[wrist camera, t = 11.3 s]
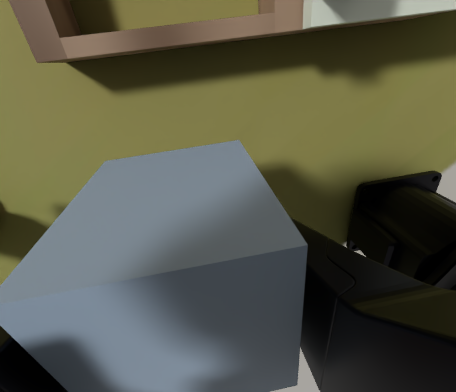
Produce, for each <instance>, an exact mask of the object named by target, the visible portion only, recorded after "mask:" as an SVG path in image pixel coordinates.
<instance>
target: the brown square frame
mask: <svg viewBox="0 0 456 392" xmlns="http://www.w3.org/2000/svg"><path fill="white" fill-rule="evenodd" d="M9 2H10V4H11V7H12V9H13V11H14V13H15V15H16V18H17V20H18V22H19V24H20V26H21V29H22V31H23V33H24V35H25V37H26V40H27V42H28V44H29V46H30V48H31V51H32V53H33V55H34V57H35V59H36V62H37V63H66V62H74V61H82V60H90V59H98V58H105V57H113V56H121V55H129V54H137V53H145V52H153V51H161V50H169V49H177V48H185V47H193V46H201V45H209V44H217V43H225V42H233V41H241V40H249V39H257V38H265V37H273V36H281V35H289V34H297V33H305V32H313V31H321V30H329V29H337V28H345V27H353V26H361V25H369V24H377V23H385V22H393V21H401V20H408V19H413V18H418V17H423V16H429V15H434V14H439V13H444V12H439V13H431V14H423V15H414V16H406V17H398V18H390V19H382V20H374V21H366V22H358V23H350V24H342V25H334V26H326V27H318V28H310V29H303V5H304V0H258V5H259V15H250V16H242V17H233V18H225V19H216V20H208V21H199V22H191V23H182V24H174V25H165V26H157V27H149V28H140V29H132V30H123V31H115V32H106V33H98V34H89V35H81V32H80V29H79V26H78V24H77V21H76V18H75V15H74V12H73V9H72V7H71V4H70V1H69V0H9ZM447 12H449V11H447Z"/></svg>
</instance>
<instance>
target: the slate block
mask: <svg viewBox="0 0 456 392" xmlns="http://www.w3.org/2000/svg"><path fill="white" fill-rule="evenodd" d="M307 249H308V245H307V243H306V242H305V240H304V238H303V237H302V235H301V234H300V232H299V231H298V229H297V228H296V226H295V225H294V223H293V222H292V220H291V219H290V217H289V216H288V214H287V213H286V211H285V209H284V208H283V206H282V205H281V203H280V202H279V200H278V199H277V197H276V196H275V194H274V193H273V191H272V190H271V188H270V187H269V185H268V184H267V182H266V180H265V179H264V177H263V176H262V174H261V173H260V171H259V170H258V168H257V167H256V165H255V164H254V162H253V161H252V159H251V158H250V156H249V155H248V153H247V151H246V150H245V148H244V147H243V145H242V144H241V142H240V141H239V140H236V141H230V142H224V143H217V144H211V145H205V146H198V147H192V148H185V149H179V150H173V151H166V152H160V153H154V154H147V155H141V156H135V157H128V158H122V159H115V160H109V161H105V162H104V163H103V164H102V165H101V167H100V168H99V169H98V170H97V171H96V173H95V174H94V175H93V176H92V177H91V179H90V180H89V181H88V182H87V183H86V185H85V186H84V187H83V188H82V189H81V190H80V192H79V193H78V194H77V195H76V196H75V198H74V199H73V200H72V201H71V202H70V204H69V205H68V206H67V207H66V208H65V209H64V211H63V212H62V213H61V214H60V215H59V217H58V218H57V219H56V220H55V221H54V223H53V224H52V225H51V226H50V227H49V229H48V230H47V231H46V232H45V233H44V234H43V236H42V237H41V238H40V239H39V240H38V242H37V243H36V244H35V245H34V246H33V248H32V249H31V250H30V251H29V252H28V254H27V255H26V256H25V257H24V258H23V259H22V261H21V262H20V263H19V264H18V265H17V267H16V268H15V269H14V270H13V271H12V273H11V274H10V275H9V276H8V277H7V279H6V280H5V281H4V282H3V283H2V284H1V286H0V326H1V327H2V328H3V329H4V330H5V331H6V332H7V333H8V334H10V335H11V336H12V337H13V338H14V339H15V340H16V341H17V342H18V343H19V344H20V345H21V346H22V347H23V348H24V349H25V350H26V351H27V352H28V353H29V354H30V355H31V356H32V357H33V358H34V359H35V360H36V361H37V362H38V363H39V364H40V365H41V366H42V367H43V368H45V369H46V370H47V371H48V372H49V373H50V374H51V375H52V376H53V377H54V378H55V379H56V380H57V381H58V382H59V383H60V384H61V385H62V386H63V387H64V388H65V389H66V390H67V391H68V392H270V391H274V390H279V389H283V388H287V387H291V386H296V385H297V380H298V367H299V354H300V341H301V328H302V315H303V301H304V288H305V275H306V262H307Z"/></svg>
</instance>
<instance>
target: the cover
mask: <svg viewBox="0 0 456 392" xmlns="http://www.w3.org/2000/svg"><path fill="white" fill-rule="evenodd" d="M455 10H456V0H304V5H303V29H310V28H318V27H326V26H334V25H342V24H350V23H358V22H366V21H374V20H382V19H390V18H398V17H406V16H414V15H423V14H431V13H439V12H447V11H455Z"/></svg>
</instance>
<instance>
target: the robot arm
mask: <svg viewBox="0 0 456 392" xmlns="http://www.w3.org/2000/svg"><path fill="white" fill-rule="evenodd" d="M441 177H442V175H441V173H439V172H437V171H428V172H422V173H416V174H411V175H405V176H399V177H393V178H388V179H382V180H376V181H371V182H365V183H362V184H360V185H359V186H358V187H357V190H356V196H355V201H354V206H353V212H352V216H351V222H350V227H349V232H348V239H347V244H346V246H347V248H346V247H344V246H343V245H341V244H339V243H337V242H335V241H333V240H331V239H329V240H328V237H326V236H324V235H322V234H320V233H318V232H317V231H315V230H313V229H311V228H309V227H307V226H306V225H304V224H302V223H300V222H298V221H296V220H295V219H293V218H291V217H290V219H291V220H292V222H293V223H294V225H295V226H296V228H297V229H298V231H299V232H300V234H301V235H302V237H303V238H304V240H305V242H306V243H307V245H308V249H307V262H306V275H305V288H304V301H303V315H302V328H301V341H300V347H301V349H302V352H303V354H304V356H305V359H306V361H307V363H308V365H309V368H310V370H311V372H312V375H313V377H314V379H315V382H316V384H317V386H318V388H319V390H320V392H456V203H455V202H453V201H451V200H449V199H448V198H446V197H444V196H442V195H440V194H438V193H436V190H437V187H438V185H439V182H440V180H441ZM364 189H365V190H364ZM357 250H361V251H362V252H363V254H364V255H365V256H366V257H365V256H363V255H360V254H358V253H356V252H354V251H357ZM0 392H68V391H67V390H66V389H65V388H64V387H63V386H62V385H61V384H60V383H59V382H58V381H57V380H56V379H55V378H54V377H53V376H52V375H51V374H50V373H49V372H48V371H47V370H46V369H45V368H43V367H42V366H41V365H40V364H39V363H38V362H37V361H36V360H35V359H34V358H33V357H32V356H31V355H30V354H29V353H28V352H27V351H26V350H25V349H24V348H23V347H22V346H21V345H20V344H19V343H18V342H17V341H16V340H15V339H14V338H13V337H12V336H11V335H10V334H8V333H7V332H6V331H5V330H4V329H3V328H2V327H1V326H0Z"/></svg>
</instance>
